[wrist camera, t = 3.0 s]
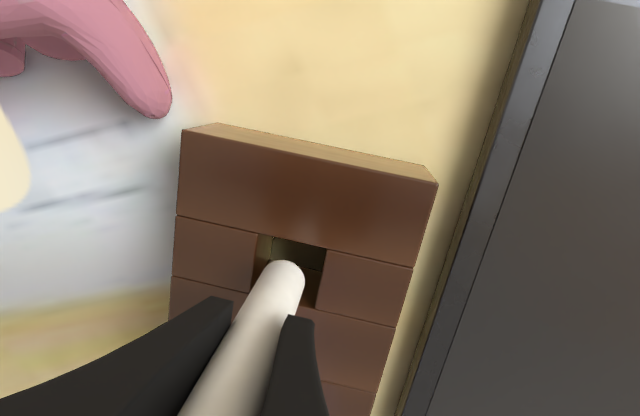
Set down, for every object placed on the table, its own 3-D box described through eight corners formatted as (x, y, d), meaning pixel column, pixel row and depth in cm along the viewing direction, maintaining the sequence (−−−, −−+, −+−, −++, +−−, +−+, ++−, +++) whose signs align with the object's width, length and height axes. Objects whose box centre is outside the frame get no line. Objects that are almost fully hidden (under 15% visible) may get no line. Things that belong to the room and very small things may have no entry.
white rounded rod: (303, 293, 13) (221, 553, 6) (263, 284, 14) (130, 528, 6) (311, 256, 13) (231, 486, 5) (269, 247, 13) (134, 460, 5)
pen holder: (350, 432, 19) (347, 493, 16) (190, 391, 19) (159, 443, 16) (425, 165, 14) (440, 183, 11) (216, 122, 15) (180, 129, 12)
